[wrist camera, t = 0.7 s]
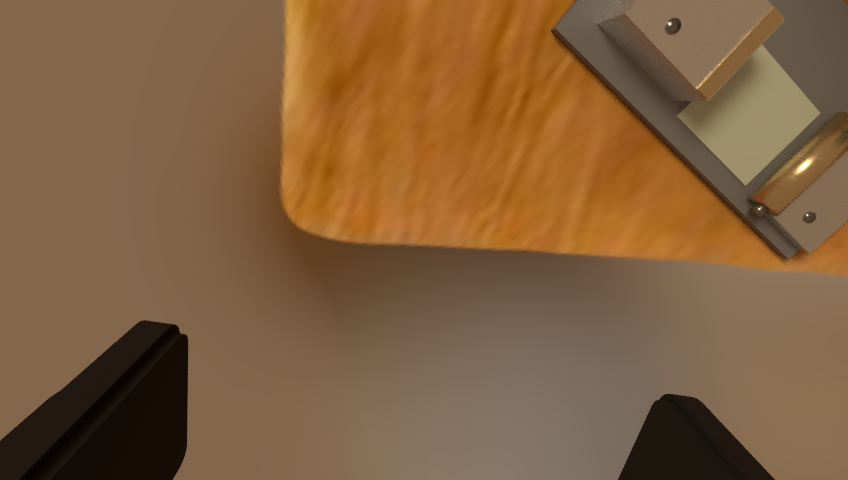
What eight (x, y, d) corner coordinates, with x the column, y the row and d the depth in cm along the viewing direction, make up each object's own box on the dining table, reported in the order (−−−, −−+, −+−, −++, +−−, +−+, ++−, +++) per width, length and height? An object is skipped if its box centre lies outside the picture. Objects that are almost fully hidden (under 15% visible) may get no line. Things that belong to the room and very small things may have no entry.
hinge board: (704, -161, 27) (717, -172, 26) (923, 124, 33) (942, 125, 32) (550, 30, 30) (556, 28, 29) (779, 255, 37) (790, 260, 36)
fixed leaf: (835, 102, 32) (869, 103, 29) (888, 166, 33) (924, 171, 31) (733, 201, 34) (757, 208, 32) (788, 255, 36) (814, 266, 33)
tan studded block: (662, -56, 28) (705, -80, 24) (735, 29, 30) (786, 20, 26) (596, 23, 29) (626, 13, 25) (670, 100, 31) (709, 101, 27)
